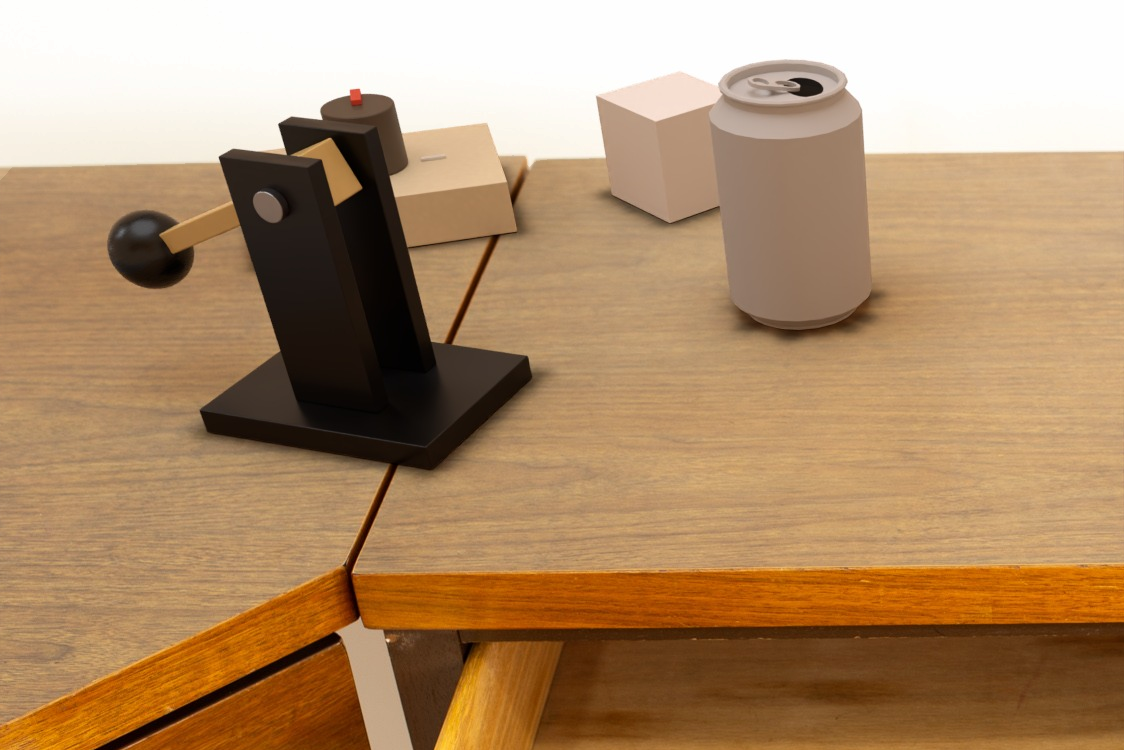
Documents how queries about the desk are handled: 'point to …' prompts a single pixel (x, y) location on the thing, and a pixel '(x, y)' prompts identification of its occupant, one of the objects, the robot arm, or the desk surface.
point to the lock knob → (371, 122)
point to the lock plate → (450, 186)
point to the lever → (197, 228)
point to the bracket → (347, 315)
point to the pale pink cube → (661, 145)
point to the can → (792, 192)
